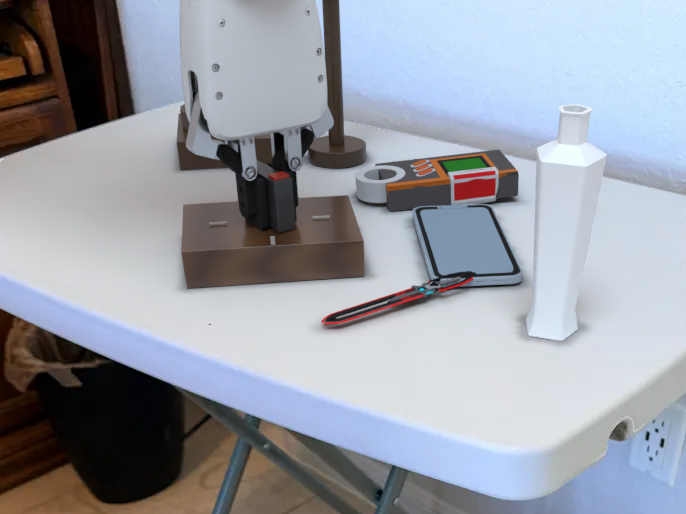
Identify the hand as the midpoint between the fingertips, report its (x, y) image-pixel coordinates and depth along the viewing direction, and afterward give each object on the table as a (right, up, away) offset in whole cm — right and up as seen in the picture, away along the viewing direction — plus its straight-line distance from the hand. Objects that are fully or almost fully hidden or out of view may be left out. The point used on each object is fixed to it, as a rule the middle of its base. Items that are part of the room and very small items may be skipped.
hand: (270, 219), depth 75 cm
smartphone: (+16, -1, +3) cm, 16 cm away
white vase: (+21, -11, -7) cm, 25 cm away
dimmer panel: (0, -2, +2) cm, 3 cm away
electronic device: (+14, +7, +13) cm, 20 cm away
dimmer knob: (0, 0, 0) cm, 0 cm away
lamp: (+4, +14, +21) cm, 26 cm away
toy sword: (+11, -8, -5) cm, 14 cm away
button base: (-7, +15, +23) cm, 28 cm away
